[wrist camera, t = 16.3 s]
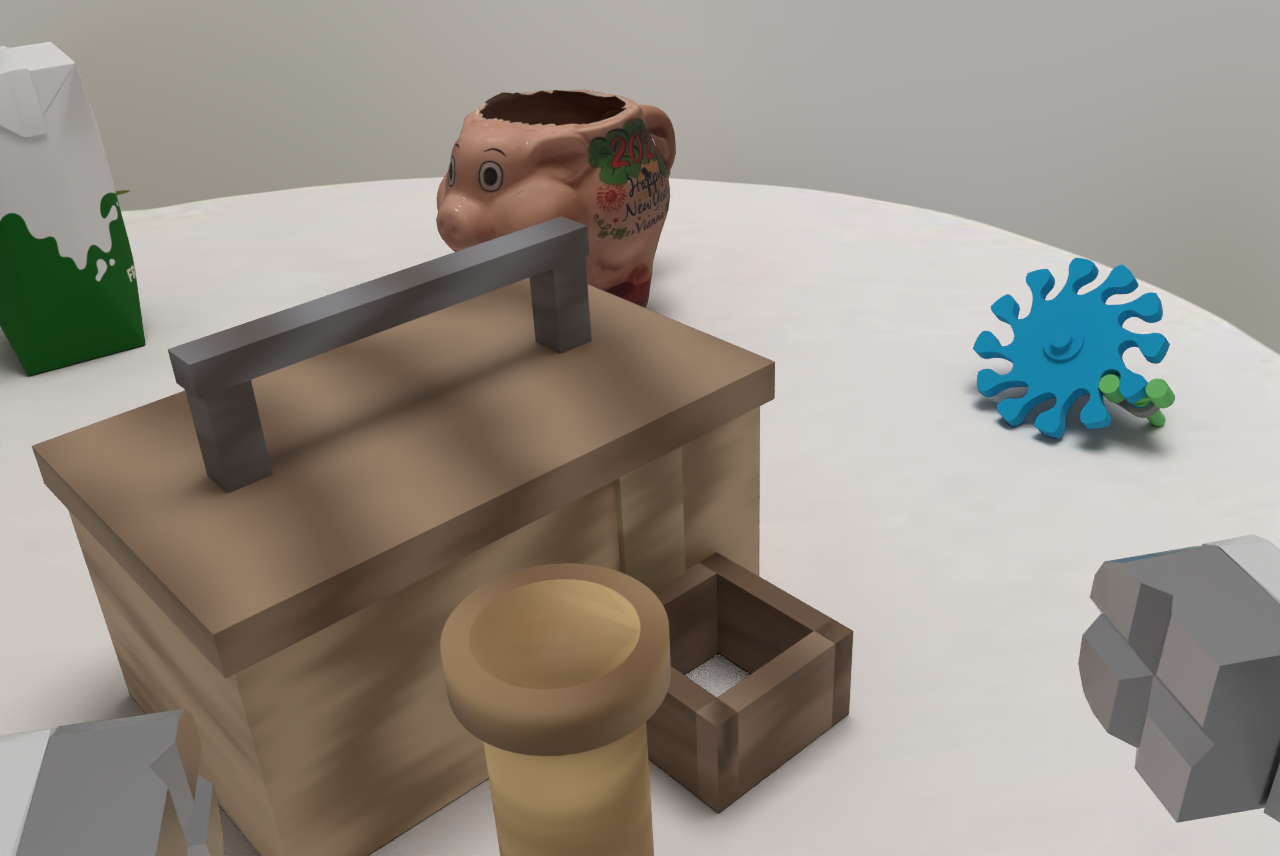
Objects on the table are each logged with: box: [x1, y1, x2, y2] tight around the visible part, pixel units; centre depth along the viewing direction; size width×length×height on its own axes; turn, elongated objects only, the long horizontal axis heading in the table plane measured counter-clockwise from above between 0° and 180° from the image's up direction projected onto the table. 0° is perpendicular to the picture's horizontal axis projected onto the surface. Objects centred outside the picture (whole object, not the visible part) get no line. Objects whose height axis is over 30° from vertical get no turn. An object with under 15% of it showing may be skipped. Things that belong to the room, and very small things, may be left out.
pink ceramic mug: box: [436, 90, 676, 308], centre depth 76 cm, size 20×12×14 cm, turn 146°
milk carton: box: [0, 42, 145, 376], centre depth 74 cm, size 9×9×20 cm
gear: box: [973, 258, 1175, 438], centre depth 65 cm, size 11×6×10 cm
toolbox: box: [32, 216, 853, 856], centre depth 45 cm, size 23×21×16 cm
